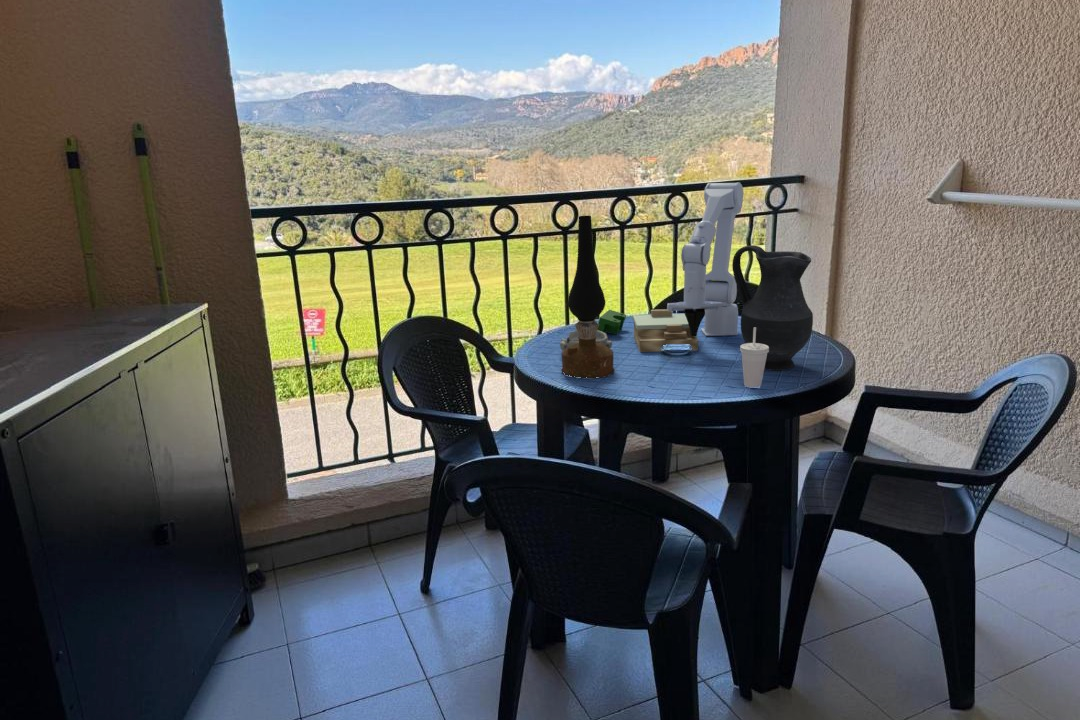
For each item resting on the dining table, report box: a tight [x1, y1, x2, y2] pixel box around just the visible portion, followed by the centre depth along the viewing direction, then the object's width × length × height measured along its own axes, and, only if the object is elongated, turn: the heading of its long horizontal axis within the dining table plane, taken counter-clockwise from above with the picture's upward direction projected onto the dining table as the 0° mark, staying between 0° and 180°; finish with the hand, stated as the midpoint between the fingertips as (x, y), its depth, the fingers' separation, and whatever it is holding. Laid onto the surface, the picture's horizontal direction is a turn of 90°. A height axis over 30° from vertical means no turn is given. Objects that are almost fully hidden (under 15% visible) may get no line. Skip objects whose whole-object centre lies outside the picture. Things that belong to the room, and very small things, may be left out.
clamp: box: [597, 309, 627, 336], centre depth 210 cm, size 12×6×9 cm, turn 153°
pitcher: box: [731, 244, 814, 371], centre depth 169 cm, size 17×21×30 cm
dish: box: [559, 329, 613, 353], centre depth 190 cm, size 14×14×5 cm
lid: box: [632, 308, 689, 332], centre depth 196 cm, size 17×14×5 cm
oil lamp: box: [560, 215, 615, 378], centre depth 170 cm, size 14×15×40 cm
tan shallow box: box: [633, 322, 699, 353], centre depth 195 cm, size 16×17×5 cm
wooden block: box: [664, 331, 687, 339], centre depth 188 cm, size 6×2×1 cm, turn 88°
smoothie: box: [739, 327, 769, 387], centre depth 156 cm, size 6×6×14 cm
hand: (693, 335), depth 188 cm, fingers closed
